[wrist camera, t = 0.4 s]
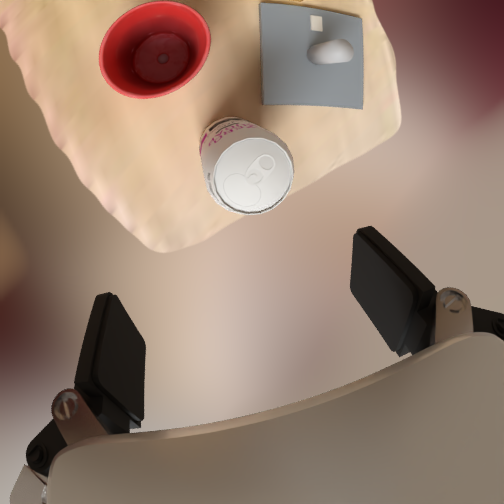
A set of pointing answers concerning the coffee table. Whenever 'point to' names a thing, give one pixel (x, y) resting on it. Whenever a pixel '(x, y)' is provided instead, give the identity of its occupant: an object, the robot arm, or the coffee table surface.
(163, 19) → the flower pot
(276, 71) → the post base
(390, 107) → the coffee table surface
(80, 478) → the robot arm
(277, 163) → the supplement can
